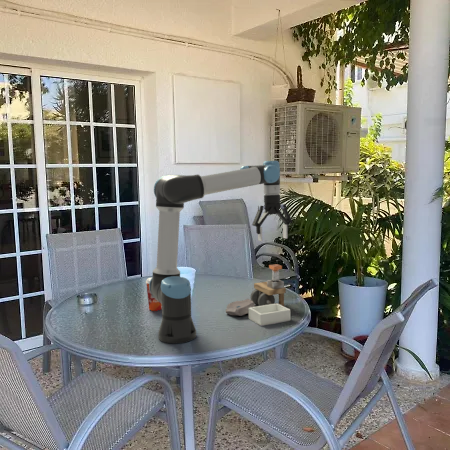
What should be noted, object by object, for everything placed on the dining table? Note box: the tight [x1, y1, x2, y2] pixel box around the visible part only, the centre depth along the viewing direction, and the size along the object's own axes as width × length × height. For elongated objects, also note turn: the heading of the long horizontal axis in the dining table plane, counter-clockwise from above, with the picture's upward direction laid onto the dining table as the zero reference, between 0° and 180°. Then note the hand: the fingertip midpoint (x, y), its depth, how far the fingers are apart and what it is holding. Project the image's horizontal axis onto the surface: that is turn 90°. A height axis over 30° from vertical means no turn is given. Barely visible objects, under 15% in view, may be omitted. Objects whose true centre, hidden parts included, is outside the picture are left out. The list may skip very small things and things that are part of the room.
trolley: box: [249, 279, 287, 307], centre depth 214 cm, size 12×15×13 cm
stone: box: [225, 298, 256, 317], centre depth 205 cm, size 13×10×6 cm
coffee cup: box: [145, 277, 162, 312], centre depth 214 cm, size 8×8×15 cm
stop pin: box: [268, 263, 283, 282], centre depth 210 cm, size 4×4×11 cm
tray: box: [248, 302, 291, 327], centre depth 196 cm, size 15×11×5 cm
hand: (272, 239), depth 208 cm, fingers open, 13 cm apart
